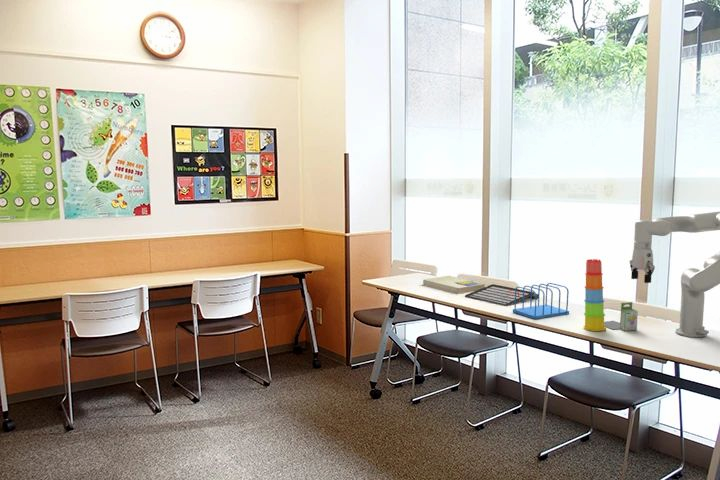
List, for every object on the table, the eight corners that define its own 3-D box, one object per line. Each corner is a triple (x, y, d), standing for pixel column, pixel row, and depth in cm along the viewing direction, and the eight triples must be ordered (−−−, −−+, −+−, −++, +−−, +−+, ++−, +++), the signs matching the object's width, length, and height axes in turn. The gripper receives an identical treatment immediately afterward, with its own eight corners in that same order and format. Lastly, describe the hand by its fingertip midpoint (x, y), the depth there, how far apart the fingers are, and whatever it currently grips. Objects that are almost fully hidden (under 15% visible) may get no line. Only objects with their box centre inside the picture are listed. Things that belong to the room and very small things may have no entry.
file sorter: (534, 319, 303) (535, 291, 301) (512, 312, 318) (512, 285, 317) (569, 314, 314) (570, 286, 312) (546, 307, 330) (546, 281, 328)
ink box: (625, 331, 279) (626, 304, 278) (619, 329, 283) (620, 302, 281) (637, 330, 281) (638, 303, 279) (631, 328, 285) (632, 301, 283)
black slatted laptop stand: (506, 315, 335) (539, 300, 353) (506, 304, 333) (539, 290, 351) (465, 303, 360) (497, 289, 378) (464, 292, 358) (497, 279, 376)
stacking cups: (592, 332, 278) (595, 262, 274) (578, 327, 288) (581, 259, 284) (610, 330, 281) (613, 260, 277) (596, 325, 291) (599, 257, 287)
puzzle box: (448, 281, 409) (422, 285, 397) (449, 275, 409) (422, 279, 396) (485, 290, 379) (457, 295, 366) (485, 283, 379) (458, 287, 366)
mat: (632, 327, 286) (632, 327, 286) (613, 330, 282) (613, 329, 282) (613, 321, 298) (613, 320, 298) (594, 323, 294) (594, 322, 294)
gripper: (662, 247, 266) (660, 283, 269) (638, 243, 283) (636, 277, 285) (647, 248, 265) (645, 284, 267) (624, 243, 282) (622, 277, 284)
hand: (641, 280), depth 276 cm, fingers open, 9 cm apart
